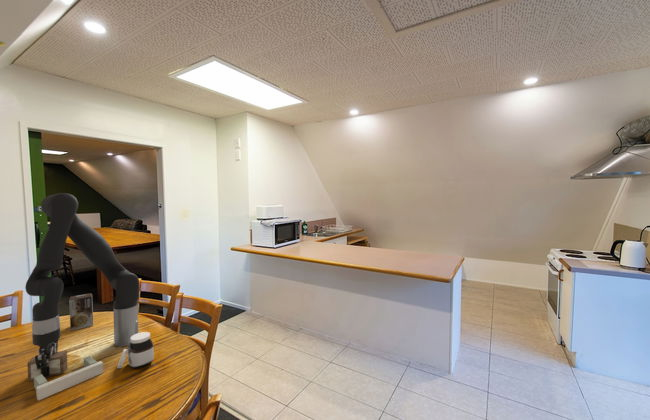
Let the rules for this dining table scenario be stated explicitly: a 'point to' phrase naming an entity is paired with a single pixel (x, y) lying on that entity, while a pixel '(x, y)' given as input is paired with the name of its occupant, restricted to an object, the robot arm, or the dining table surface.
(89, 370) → the ledge
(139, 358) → the spread jar
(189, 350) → the dining table surface
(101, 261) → the robot arm
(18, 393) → the dining table surface
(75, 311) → the coffee box
